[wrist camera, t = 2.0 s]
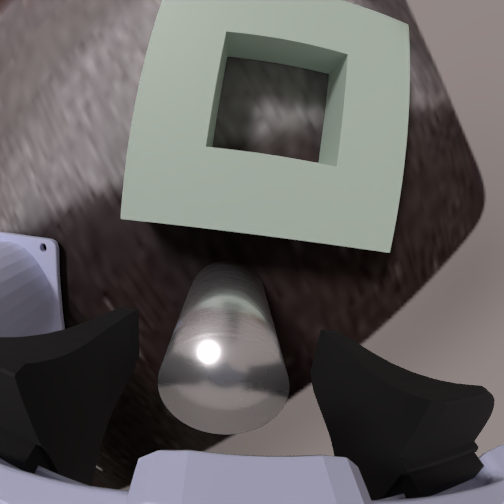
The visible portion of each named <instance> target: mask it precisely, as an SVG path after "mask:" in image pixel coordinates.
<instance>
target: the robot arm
mask: <svg viewBox="0 0 504 504" xmlns="http://www.w3.org/2000/svg"><path fill="white" fill-rule="evenodd" d="M43 244H45V245H46V250H45V249H44V247H43ZM138 356H139V329H138V309H132V308H127V307H122V308H119V309H116V310H113V311H111V312H109V313H106V314H104V315H101V316H99V317H97V318H94V319H92V320H89V321H87V322H84V323H81V324H78V325H76V326H73V327H70V328H67V329H65V326H64V318H63V308H62V297H61V284H60V265H59V245H58V243H57V242H56V241H55V240H54V239H49V238H42V237H35V236H28V235H21V234H14V233H7V232H1V231H0V504H504V445H500V446H498V447H496V448H494V449H492V450H489V451H487V452H485V453H484V454H482V455H481V456H480V457H479V458H478V457H477V455H476V454H475V453H474V452H476V451H477V449H478V446H477V444H476V443H475V442H474V441H475V439H476V438H477V436H478V435H479V433H480V432H481V430H482V429H483V427H484V426H485V424H486V423H487V421H488V419H489V417H490V416H491V413H492V410H493V407H494V398H493V395H492V394H491V393H490V392H488V391H487V389H486V388H484V387H482V386H475V385H465V384H455V383H451V382H445V381H440V380H436V379H432V378H429V377H426V376H422V375H419V374H416V373H413V372H411V371H408V370H406V369H404V368H401V367H399V366H396V365H394V364H392V363H390V362H388V361H387V360H384V359H383V358H381V357H379V356H377V355H376V354H374V353H372V352H370V351H369V350H367V349H366V348H364V347H362V346H361V345H359V344H358V343H356V342H355V341H353V340H351V339H350V338H348V337H346V336H345V335H343V334H341V333H339V332H337V331H330V330H321V333H320V337H319V341H318V345H317V348H316V352H315V356H314V360H313V363H312V367H311V370H310V374H311V380H312V385H313V390H314V393H315V396H316V399H317V402H318V404H319V407H320V410H321V413H322V415H323V418H324V420H325V423H326V426H327V429H328V432H329V435H330V438H331V442H332V446H333V450H334V455H335V456H326V455H307V456H251V455H232V454H220V453H210V452H201V451H193V450H158V451H156V452H153V453H151V454H148V455H146V456H143V457H141V458H139V459H138V462H137V465H136V468H135V471H134V475H133V479H132V482H131V486H130V489H129V491H128V490H117V489H109V488H101V487H94V486H92V482H93V477H94V472H95V468H96V464H97V459H98V455H99V452H100V448H101V445H102V441H103V438H104V435H105V432H106V429H107V426H108V423H109V420H110V417H111V415H112V413H113V410H114V409H115V407H116V405H117V403H118V401H119V399H120V397H121V395H122V393H123V391H124V389H125V387H126V385H127V383H128V381H129V379H130V377H131V375H132V373H133V371H134V368H135V365H136V362H137V359H138Z"/></svg>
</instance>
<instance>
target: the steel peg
mask: <svg viewBox="0 0 504 504" xmlns="http://www.w3.org/2000/svg"><path fill="white" fill-rule="evenodd" d="M158 390H159V393H160V396H161V399H162V401H163V403H164V404H165V406H166V407H167V409H168V410H169V411H170V412H171V413H172V414H173V415H174V416H175V417H176V418H178V419H179V420H180V421H182V422H183V423H185V424H187V425H188V426H191V427H193V428H195V429H198V430H201V431H204V432H208V433H214V434H238V433H244V432H248V431H251V430H254V429H257V428H259V427H261V426H263V425H264V424H266V423H268V422H269V421H271V420H272V419H273V418H274V417H275V416H276V415H277V414H278V413H279V412H280V411H281V410H282V408H283V407H284V405H285V403H286V401H287V398H288V394H289V379H288V374H287V371H286V367H285V363H284V360H283V356H282V352H281V349H280V345H279V341H278V338H277V334H276V331H275V327H274V323H273V320H272V316H271V312H270V309H269V305H268V301H267V298H266V294H265V290H264V287H263V284H262V282H261V280H260V278H259V276H258V275H257V274H256V273H255V272H254V271H253V270H252V269H251V268H249V267H248V266H246V265H244V264H242V263H239V262H236V261H218V262H215V263H212V264H210V265H208V266H206V267H205V268H203V269H202V270H201V271H200V272H199V273H198V274H197V276H196V277H195V279H194V281H193V283H192V285H191V288H190V290H189V293H188V296H187V298H186V301H185V303H184V306H183V309H182V311H181V314H180V316H179V319H178V322H177V324H176V327H175V330H174V332H173V335H172V338H171V340H170V343H169V346H168V349H167V351H166V354H165V357H164V360H163V362H162V365H161V368H160V371H159V375H158Z"/></svg>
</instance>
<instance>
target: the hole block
mask: <svg viewBox="0 0 504 504" xmlns="http://www.w3.org/2000/svg"><path fill="white" fill-rule="evenodd" d="M227 57H236V58H244V59H252V60H259V61H266V62H272V63H278V64H284V65H289V66H294V67H299V68H304V69H309V70H313V71H318V72H322V73H326V74H329V77H328V87H327V97H326V106H325V115H324V123H323V132H322V140H321V148H320V155H319V163H315V162H310V161H304V160H299V159H293V158H287V157H281V156H275V155H268V154H262V153H255V152H248V151H240V150H232V149H224V148H215V147H212V146H213V139H214V133H215V126H216V120H217V114H218V107H219V101H220V95H221V90H222V84H223V78H224V73H225V67H226V62H227ZM409 97H410V44H409V25H408V24H406V23H404V22H401V21H399V20H396V19H394V18H392V17H389V16H387V15H384V14H381V13H379V12H376V11H373V10H371V9H368V8H365V7H362V6H359V5H356V4H353V3H349V2H346V1H343V0H162V2H161V5H160V8H159V11H158V15H157V18H156V21H155V24H154V28H153V31H152V35H151V38H150V42H149V45H148V49H147V53H146V57H145V61H144V65H143V69H142V74H141V78H140V83H139V87H138V92H137V97H136V102H135V107H134V113H133V118H132V124H131V130H130V136H129V143H128V150H127V157H126V165H125V174H124V183H123V194H122V205H121V219H126V220H135V221H144V222H153V223H162V224H171V225H180V226H188V227H197V228H205V229H214V230H222V231H230V232H238V233H246V234H254V235H262V236H270V237H278V238H285V239H293V240H300V241H308V242H315V243H323V244H330V245H337V246H344V247H352V248H359V249H366V250H373V251H380V252H386V253H390V249H391V245H392V240H393V235H394V229H395V224H396V218H397V213H398V207H399V200H400V194H401V187H402V180H403V172H404V163H405V154H406V144H407V132H408V118H409Z"/></svg>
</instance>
